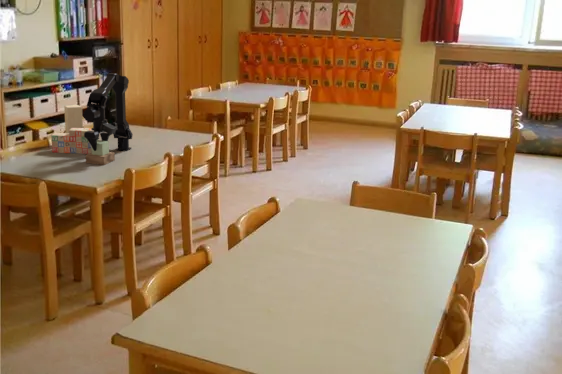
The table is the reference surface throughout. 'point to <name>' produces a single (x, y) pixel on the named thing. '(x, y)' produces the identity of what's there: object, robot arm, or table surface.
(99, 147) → the green cube
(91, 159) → the walnut base
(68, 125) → the beige wooden block
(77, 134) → the stack of blocks
